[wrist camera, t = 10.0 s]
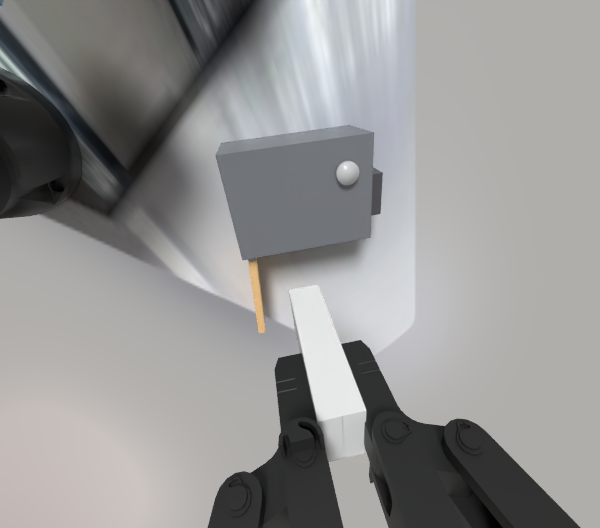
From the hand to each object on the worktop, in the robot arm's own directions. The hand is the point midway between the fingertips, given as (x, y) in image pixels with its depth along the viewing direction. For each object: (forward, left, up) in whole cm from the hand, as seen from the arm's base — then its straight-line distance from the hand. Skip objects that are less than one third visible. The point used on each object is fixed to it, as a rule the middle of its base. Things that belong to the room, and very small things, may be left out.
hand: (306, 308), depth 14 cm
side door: (-5, -14, -26) cm, 30 cm away
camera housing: (+3, -1, -26) cm, 27 cm away
